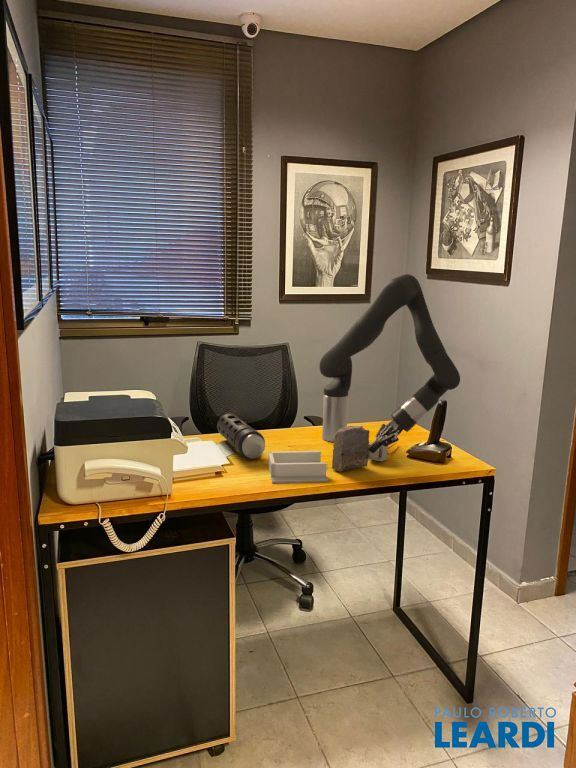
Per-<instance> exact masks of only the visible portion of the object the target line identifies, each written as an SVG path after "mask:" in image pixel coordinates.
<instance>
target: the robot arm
mask: <svg viewBox="0 0 576 768" xmlns="http://www.w3.org/2000/svg"><path fill="white" fill-rule="evenodd" d="M404 306H407V309H408V311H409V312H410V314H411V318H412V320H413V325H414V334H415V341H416V343H417V346H418V348H419V351H420V352H421V354H422V356H423V358H424V360H425V362H426V364H428V365H429V366H430V368H431V370H432V371H433V375H432V376H430V378H429V379H428V380H427V381H426V382H425V383H424V385H423V386H422V387H420V389H418V390H417V391H416V392H414V394H412V396H411V397H409V398H408V399H406V400H405V402H403V403H402V404H401V405H400V406H399V407H398V408H397V409H396V410H394V412H392V413H391V415H390V416H391V418H392V420H390V421H389V422H388V423H386V424H385V423H383V424H381V426H380V428H379V429H378V431H377V433H376V434H375V439H374V441H373V442H372V443H370V444H371V445H370V446H369V451H370V452H371V453H374V452H375V451H377V450H378V449H379V448H380V447H381V446H385V447H386V446H388V447H389V446H391V445H393V444H395V443H396V442H398V441H399V440H400V438H399V436H400V434H402V432H403V431H405V432H406V433H407V432H408V433H409V431H410V430H412V428H414V426H416V425H418V423H419V422H420V421H422V419H423V418H424V417H425V415H427V414H428V412H429V411H431V409H433V408H434V407H435V406H436V405H438V402H439V400H440V398H441V397H443V395H445V393H446V392H448V391H452V390H454V389H456V388H458V387H459V385H460V382H461V375H460V372H459V370H458V368H457V366H456V365H455V363H454V362H453V360H452V359H451V357H450V356H449V355H448V353H447V350H446V348H445V346H444V343H442V341H441V338H440V336H439V334H438V332H437V330H436V328H435V325H434V323H433V320H432V317H431V315H430V312H429V308H428V305H427V303H426V299H425V296H424V292H423V290H422V286H421V284H420V282H419V280H418V279H417V278H416V276H414V275H412V274H408V273H405V274H402V275H399V276H397V277H394V278H392V279H390V280H389V281H387V283H386V284H385V285H384V286H383V288H382V289H381V291H380V292H379V294H378V295H377V297H376V298H375V300H374V301H373V302H372V304H371V305H370V306H369V307H368V308H367V309H366V310H365V311H364V312H363V313H362V314H361V315H360V316H359V317H358V318H357V319H356V321H355V322H354V323H353V324H352V325H351V327H350V328H348V330H347V331H346V332H345V333H344V335H343V336H342V337H340V339H339V340H338V342H336V343H335V345H333V346H332V347H331V348H330V349H329V350H328V351H327V352H326V353H325V354H324V355H323V356H322V357H321V359H320V361H319V366H318V367H319V368H318V369H319V372H320V374H321V375H322V376H323V377H325V378H329V379H330V378H331V379H332V380H331V382H330V383H328V384H326V385H325V386H324V388H323V400H322V401H323V403H322V404H323V406H322V407H323V408H322V409H323V411H322V432H321V433H322V434H321V436H322V437H321V439H322V440H323V441H327V442H332V443H334V441H333V439H334V437H335V435H336V433H337V432H338V431H339V429H341V428H344V427H348V413H349V412H348V410H349V391H350V388H351V384H352V374H353V373H352V372H353V361H352V357H353V356H354V355H356V354H358V353H360V352H363V351H364V350H365V349H367V348H368V347H370V346H371V345H372V344H373V343H374V342H375V341H376V340H377V339H378V338H379V336H380V335H381V334H382V332H383V330H384V328H385V324H386V322H387V321H388V320H389V319H390V317H392V316H393V314H395V313H396V312H398V311H399V310H400V309H401V308H403V307H404Z"/></svg>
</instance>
